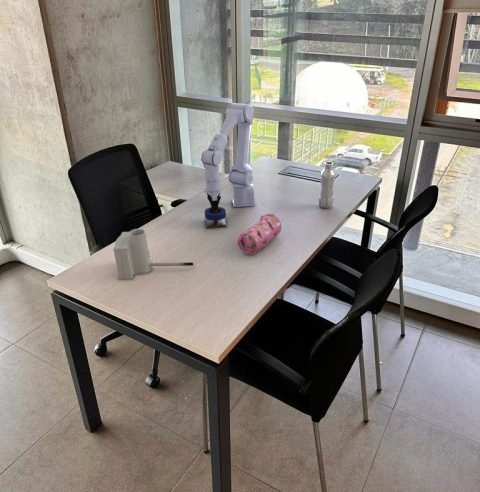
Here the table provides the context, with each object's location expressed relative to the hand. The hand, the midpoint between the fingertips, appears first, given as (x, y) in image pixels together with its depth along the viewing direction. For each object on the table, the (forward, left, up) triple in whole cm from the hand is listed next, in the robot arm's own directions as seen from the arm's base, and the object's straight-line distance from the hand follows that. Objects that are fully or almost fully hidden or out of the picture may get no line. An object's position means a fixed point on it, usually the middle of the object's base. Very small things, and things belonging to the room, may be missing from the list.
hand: (214, 209), depth 193 cm
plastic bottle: (-50, -6, -5) cm, 51 cm away
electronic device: (+23, +37, -5) cm, 44 cm away
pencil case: (-16, +24, -5) cm, 29 cm away
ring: (0, +3, -1) cm, 4 cm away
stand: (0, +3, -5) cm, 6 cm away
